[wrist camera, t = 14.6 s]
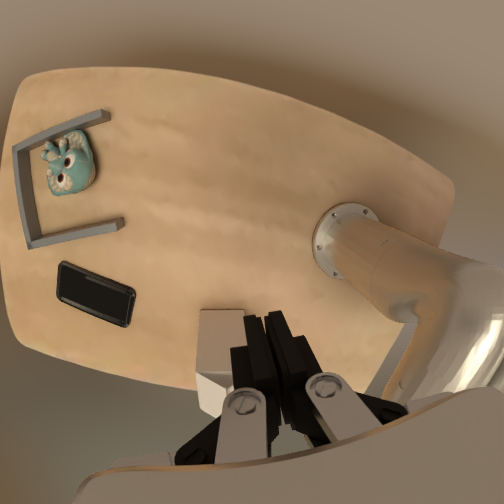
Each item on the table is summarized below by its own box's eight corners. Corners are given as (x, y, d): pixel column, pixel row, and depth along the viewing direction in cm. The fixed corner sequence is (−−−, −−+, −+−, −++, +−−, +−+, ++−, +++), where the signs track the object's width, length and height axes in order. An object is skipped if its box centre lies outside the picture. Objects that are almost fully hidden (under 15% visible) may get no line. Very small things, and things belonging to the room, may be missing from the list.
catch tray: (110, 113, 32) (101, 109, 29) (125, 225, 37) (117, 231, 34) (23, 146, 30) (12, 146, 27) (39, 243, 36) (28, 249, 33)
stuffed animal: (42, 112, 25) (88, 141, 26) (69, 120, 32) (116, 149, 33) (15, 179, 27) (56, 217, 28) (43, 178, 34) (85, 212, 35)
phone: (128, 329, 42) (55, 298, 38) (129, 326, 43) (58, 296, 40) (136, 291, 40) (58, 259, 37) (138, 288, 41) (61, 257, 38)
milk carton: (202, 344, 45) (199, 432, 27) (200, 309, 43) (193, 396, 25) (243, 343, 46) (258, 429, 28) (243, 308, 44) (261, 394, 26)
